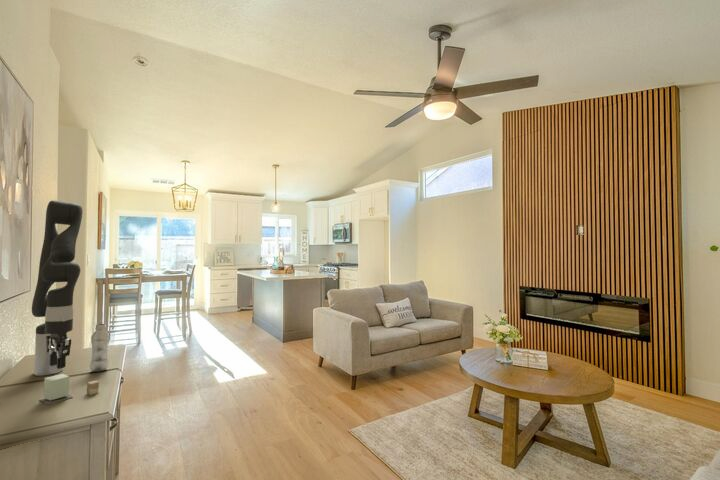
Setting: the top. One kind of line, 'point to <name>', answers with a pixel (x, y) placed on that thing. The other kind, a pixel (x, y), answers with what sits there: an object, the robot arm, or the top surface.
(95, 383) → the maple post
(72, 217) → the robot arm
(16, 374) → the top surface
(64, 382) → the pale green eraser block
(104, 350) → the plastic bottle
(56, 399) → the walnut post
